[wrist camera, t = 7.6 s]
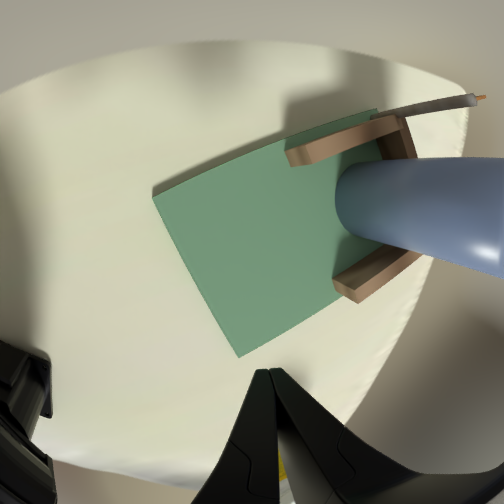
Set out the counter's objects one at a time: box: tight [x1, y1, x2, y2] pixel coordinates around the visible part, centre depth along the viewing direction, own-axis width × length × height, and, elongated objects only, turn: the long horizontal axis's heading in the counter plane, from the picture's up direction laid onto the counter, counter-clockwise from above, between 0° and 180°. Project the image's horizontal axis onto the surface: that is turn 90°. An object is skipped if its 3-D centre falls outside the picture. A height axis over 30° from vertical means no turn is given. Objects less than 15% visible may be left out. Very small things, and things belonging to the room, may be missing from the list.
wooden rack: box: [284, 93, 486, 304], centre depth 17 cm, size 12×12×10 cm
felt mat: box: [152, 108, 385, 358], centre depth 21 cm, size 19×13×1 cm
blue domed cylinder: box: [335, 157, 504, 279], centre depth 15 cm, size 6×6×13 cm
